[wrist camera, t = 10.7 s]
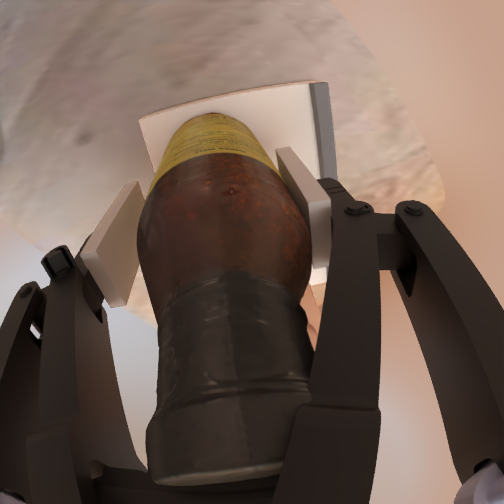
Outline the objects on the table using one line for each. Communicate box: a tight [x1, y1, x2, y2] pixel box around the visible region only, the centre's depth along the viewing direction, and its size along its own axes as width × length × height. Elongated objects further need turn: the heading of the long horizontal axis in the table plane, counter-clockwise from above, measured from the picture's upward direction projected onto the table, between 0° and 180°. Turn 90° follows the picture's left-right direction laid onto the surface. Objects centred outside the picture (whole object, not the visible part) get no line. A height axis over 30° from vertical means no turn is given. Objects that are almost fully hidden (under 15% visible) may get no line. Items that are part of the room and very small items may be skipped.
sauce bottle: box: [136, 112, 315, 486], centre depth 12 cm, size 7×6×20 cm
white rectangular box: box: [138, 80, 338, 286], centre depth 24 cm, size 18×13×4 cm
